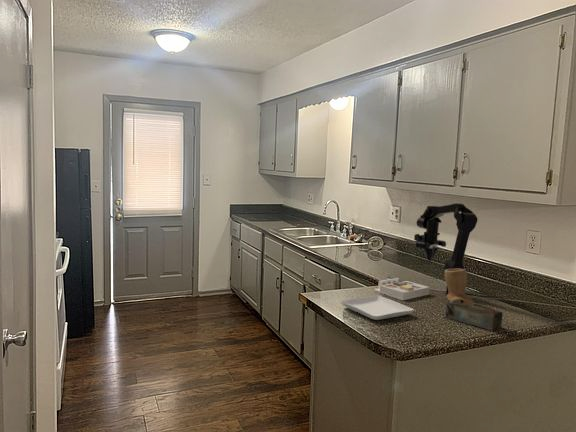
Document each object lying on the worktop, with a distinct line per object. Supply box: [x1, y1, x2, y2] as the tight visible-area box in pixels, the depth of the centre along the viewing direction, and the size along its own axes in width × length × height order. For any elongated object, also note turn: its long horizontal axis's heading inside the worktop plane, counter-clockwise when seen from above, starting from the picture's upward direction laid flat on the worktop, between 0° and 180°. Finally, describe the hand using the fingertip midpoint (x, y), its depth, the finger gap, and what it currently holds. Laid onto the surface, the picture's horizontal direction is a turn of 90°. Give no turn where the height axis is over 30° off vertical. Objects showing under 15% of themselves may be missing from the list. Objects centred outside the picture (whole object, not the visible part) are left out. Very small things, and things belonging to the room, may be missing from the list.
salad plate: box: [340, 294, 415, 321], centre depth 182 cm, size 21×21×3 cm
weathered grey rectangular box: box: [445, 301, 503, 332], centre depth 175 cm, size 8×19×7 cm, turn 44°
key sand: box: [400, 285, 414, 291], centre depth 208 cm, size 4×4×2 cm
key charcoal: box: [393, 280, 407, 286], centre depth 214 cm, size 4×4×2 cm
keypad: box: [373, 277, 431, 301], centre depth 214 cm, size 16×20×4 cm
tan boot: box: [443, 268, 475, 306], centre depth 202 cm, size 15×12×15 cm
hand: (429, 260), depth 234 cm, fingers closed
